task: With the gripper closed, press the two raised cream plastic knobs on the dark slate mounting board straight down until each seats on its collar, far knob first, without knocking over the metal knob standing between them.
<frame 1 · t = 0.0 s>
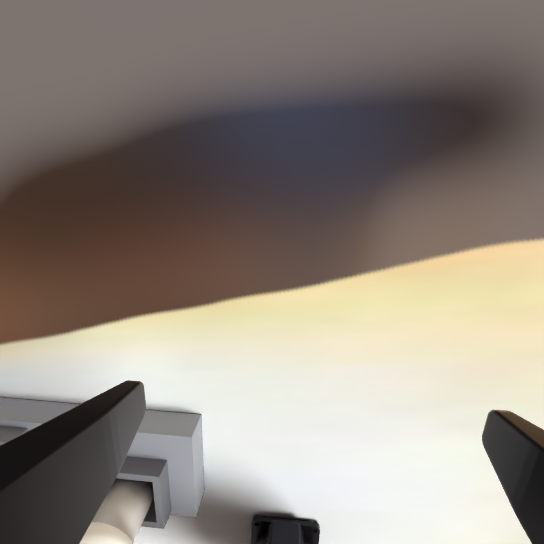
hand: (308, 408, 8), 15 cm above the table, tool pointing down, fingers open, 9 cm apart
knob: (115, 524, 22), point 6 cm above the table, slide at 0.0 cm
mount: (94, 443, 28), on the table
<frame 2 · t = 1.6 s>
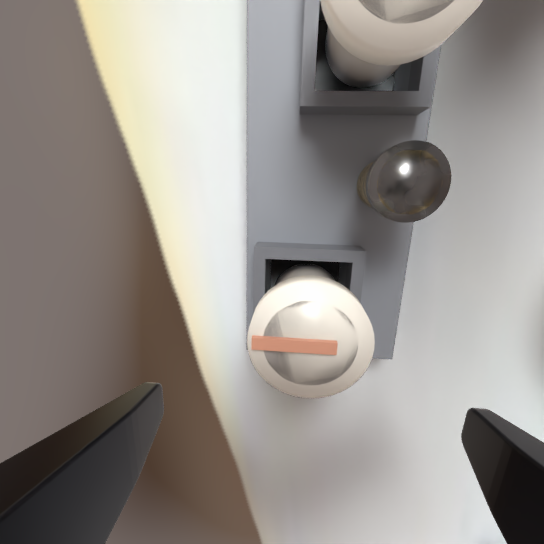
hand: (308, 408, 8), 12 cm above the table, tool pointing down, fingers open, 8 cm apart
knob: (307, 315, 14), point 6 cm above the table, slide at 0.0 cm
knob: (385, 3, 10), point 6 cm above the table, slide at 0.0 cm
mount: (327, 175, 17), on the table
metal knob: (380, 184, 15), point 3 cm above the table, touching mount
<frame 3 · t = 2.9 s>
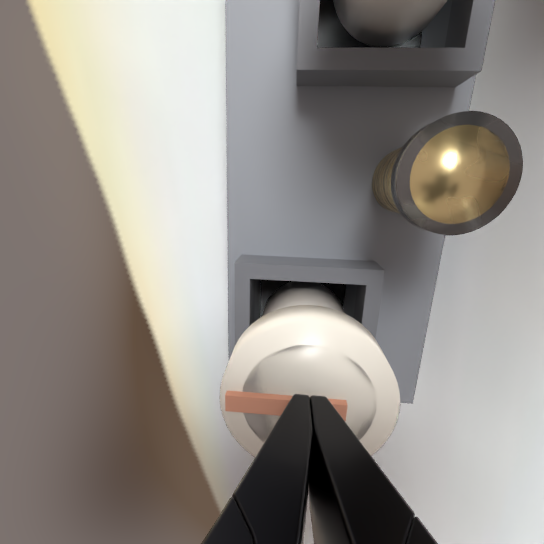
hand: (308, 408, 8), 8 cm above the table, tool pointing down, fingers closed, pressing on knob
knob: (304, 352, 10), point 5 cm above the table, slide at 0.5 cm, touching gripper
mount: (331, 169, 14), on the table
metal knob: (403, 181, 11), point 3 cm above the table, touching mount
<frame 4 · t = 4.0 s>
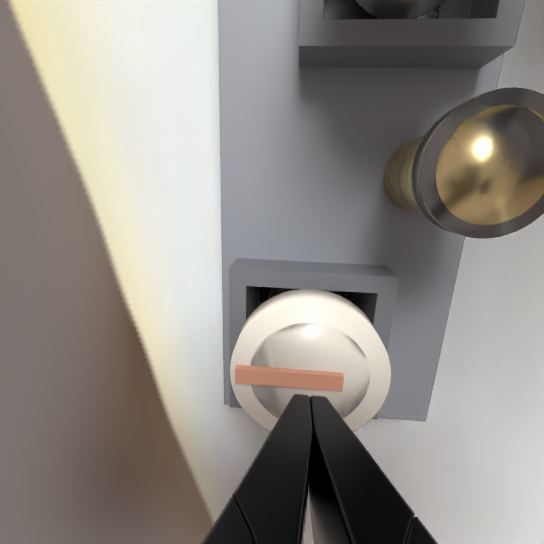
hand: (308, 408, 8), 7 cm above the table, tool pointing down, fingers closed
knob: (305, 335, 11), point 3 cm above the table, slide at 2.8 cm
mount: (337, 164, 13), on the table
metal knob: (419, 175, 10), point 3 cm above the table, touching mount
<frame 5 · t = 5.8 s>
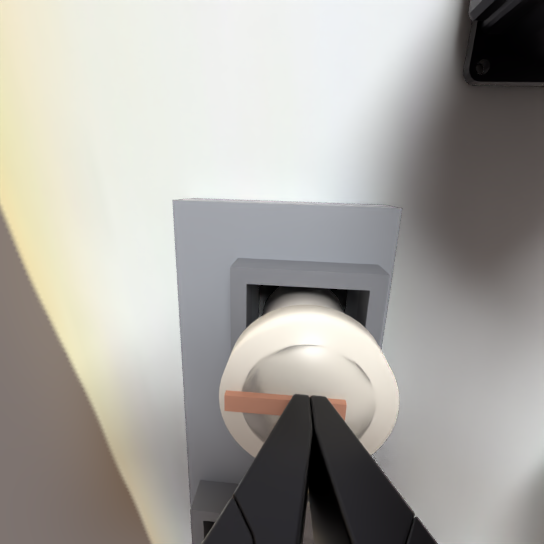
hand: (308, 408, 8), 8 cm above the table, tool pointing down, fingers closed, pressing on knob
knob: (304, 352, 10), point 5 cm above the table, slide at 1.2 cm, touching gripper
mount: (278, 393, 17), on the table
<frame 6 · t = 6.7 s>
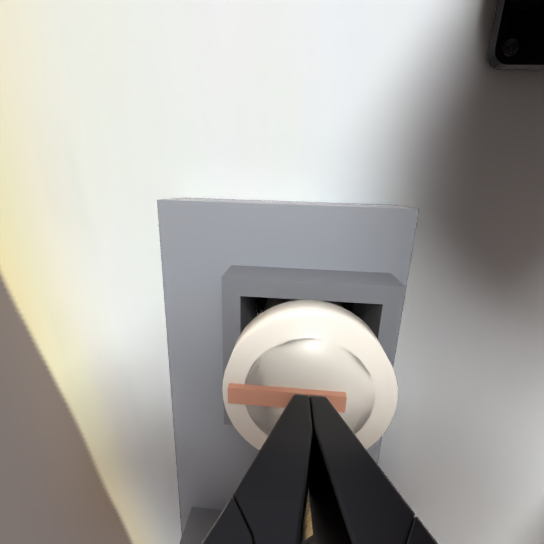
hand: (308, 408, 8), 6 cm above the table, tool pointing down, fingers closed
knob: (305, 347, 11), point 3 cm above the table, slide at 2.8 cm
mount: (277, 410, 15), on the table
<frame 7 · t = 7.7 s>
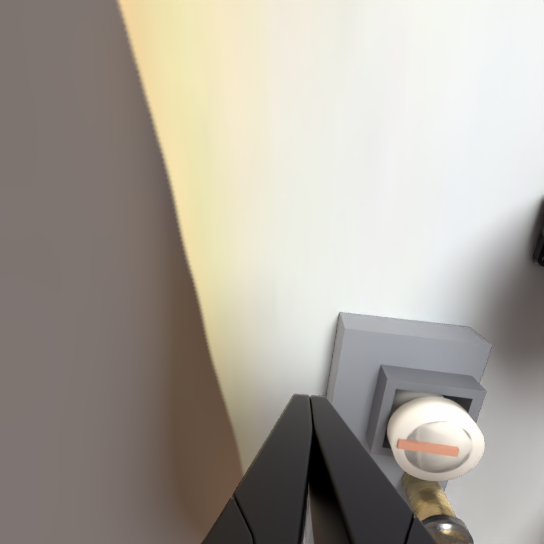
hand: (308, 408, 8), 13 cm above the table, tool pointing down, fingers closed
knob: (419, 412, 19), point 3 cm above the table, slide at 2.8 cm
mount: (376, 440, 23), on the table
metal knob: (419, 479, 21), point 3 cm above the table, touching mount
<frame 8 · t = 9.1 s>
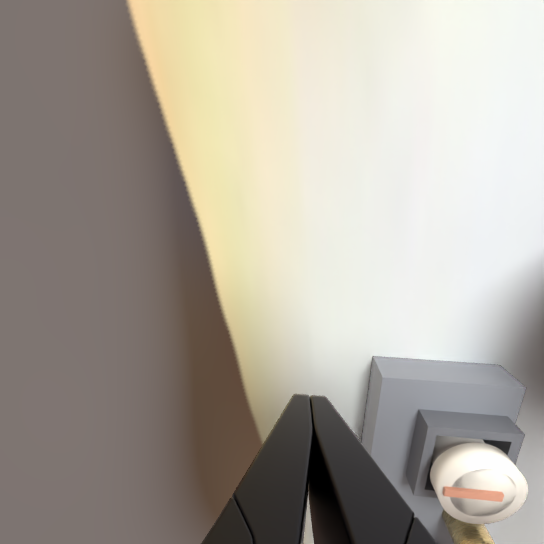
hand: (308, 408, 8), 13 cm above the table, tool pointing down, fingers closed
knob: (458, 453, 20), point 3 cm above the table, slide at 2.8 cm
mount: (412, 474, 24), on the table
metal knob: (459, 514, 22), point 3 cm above the table, touching mount
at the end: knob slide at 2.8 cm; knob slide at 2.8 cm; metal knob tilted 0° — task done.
